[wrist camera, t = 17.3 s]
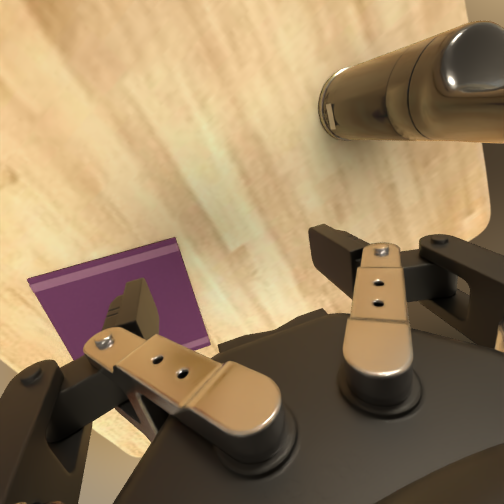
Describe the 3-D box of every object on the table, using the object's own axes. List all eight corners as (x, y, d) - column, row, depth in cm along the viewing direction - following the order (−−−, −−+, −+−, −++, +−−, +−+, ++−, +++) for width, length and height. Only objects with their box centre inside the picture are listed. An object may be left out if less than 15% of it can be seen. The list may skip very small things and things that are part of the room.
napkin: (175, 237, 43) (175, 238, 43) (210, 343, 51) (210, 345, 51) (27, 278, 40) (26, 280, 40) (90, 385, 48) (89, 387, 48)
